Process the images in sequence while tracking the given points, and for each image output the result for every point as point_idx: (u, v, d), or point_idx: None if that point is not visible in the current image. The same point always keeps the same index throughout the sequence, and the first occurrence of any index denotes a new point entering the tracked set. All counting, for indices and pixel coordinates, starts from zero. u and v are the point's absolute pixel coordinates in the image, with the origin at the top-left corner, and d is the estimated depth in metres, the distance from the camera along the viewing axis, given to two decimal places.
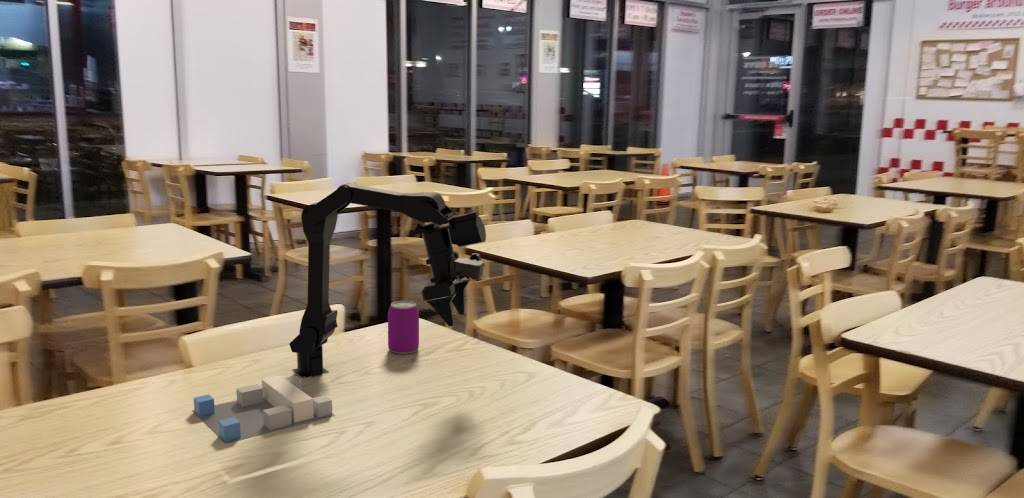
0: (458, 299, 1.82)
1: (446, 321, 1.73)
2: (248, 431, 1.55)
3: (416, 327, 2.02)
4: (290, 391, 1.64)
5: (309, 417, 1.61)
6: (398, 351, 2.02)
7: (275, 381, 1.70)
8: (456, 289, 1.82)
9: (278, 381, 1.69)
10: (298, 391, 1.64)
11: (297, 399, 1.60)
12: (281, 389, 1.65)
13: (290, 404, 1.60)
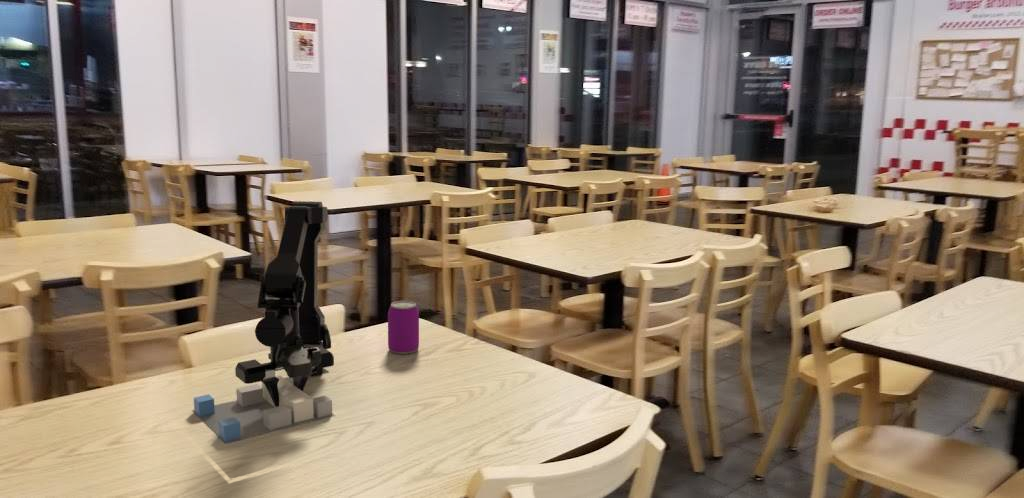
0: (297, 385, 1.67)
1: (272, 400, 1.65)
2: (248, 431, 1.55)
3: (416, 327, 2.02)
4: (290, 391, 1.64)
5: (309, 417, 1.61)
6: (398, 351, 2.02)
7: None
8: None
9: (278, 381, 1.69)
10: (298, 391, 1.64)
11: (297, 399, 1.60)
12: (281, 389, 1.65)
13: (290, 404, 1.60)
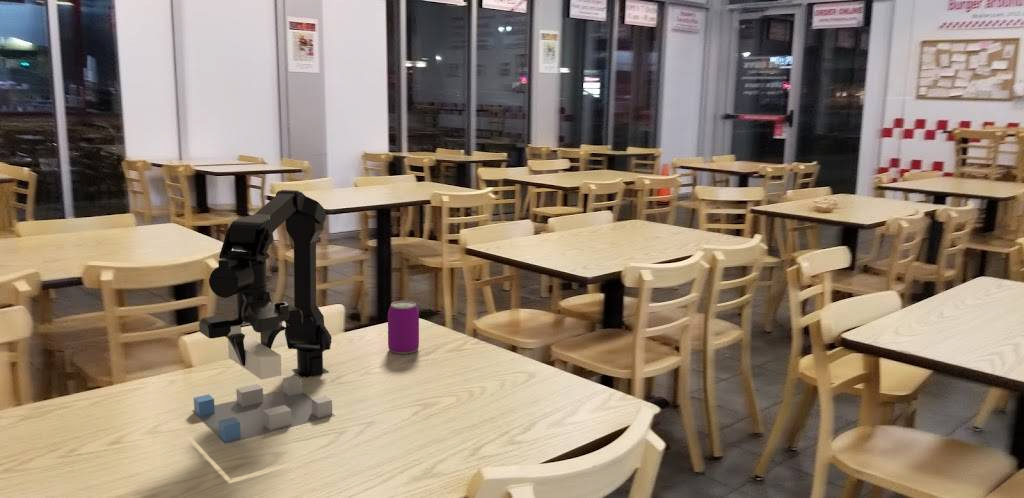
0: (264, 344, 1.61)
1: (238, 358, 1.59)
2: (248, 431, 1.55)
3: (416, 327, 2.02)
4: (257, 348, 1.58)
5: (277, 374, 1.55)
6: (398, 351, 2.02)
7: None
8: (265, 332, 1.61)
9: (245, 340, 1.63)
10: (265, 349, 1.58)
11: (264, 356, 1.54)
12: (247, 347, 1.59)
13: (257, 360, 1.53)
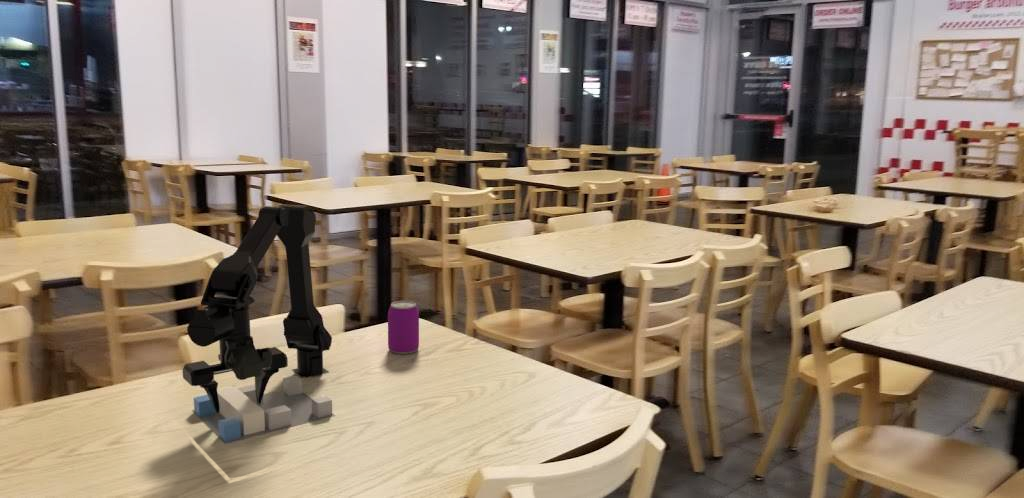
0: (258, 385, 1.62)
1: (213, 405, 1.57)
2: None
3: (416, 327, 2.02)
4: (242, 402, 1.58)
5: (260, 429, 1.55)
6: (398, 351, 2.02)
7: (227, 391, 1.64)
8: None
9: (230, 392, 1.63)
10: (250, 402, 1.58)
11: (247, 411, 1.54)
12: (232, 401, 1.59)
13: (240, 416, 1.54)
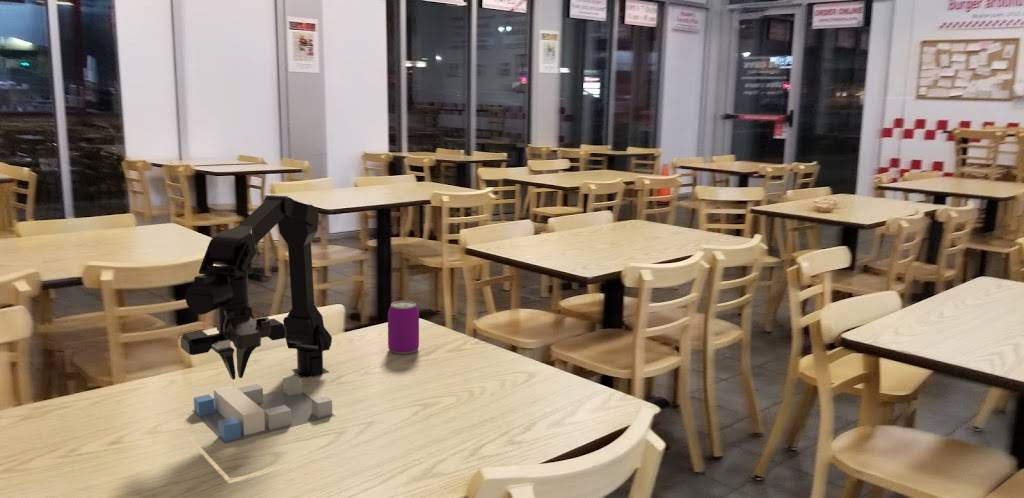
0: (240, 360, 1.59)
1: (229, 372, 1.58)
2: None
3: (416, 327, 2.02)
4: (242, 402, 1.58)
5: (260, 429, 1.55)
6: (398, 351, 2.02)
7: (227, 391, 1.64)
8: (240, 349, 1.58)
9: (230, 392, 1.63)
10: (250, 402, 1.58)
11: (247, 411, 1.54)
12: (232, 401, 1.59)
13: (240, 416, 1.54)
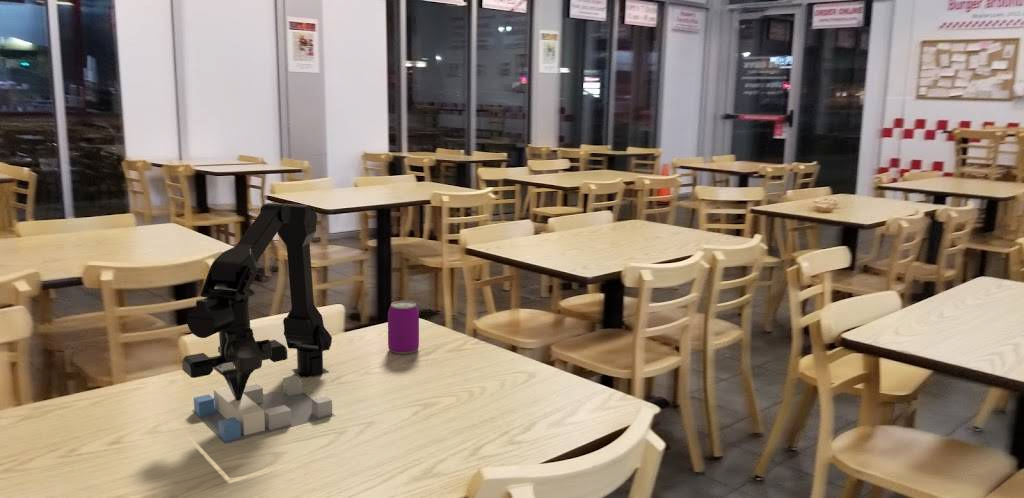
0: (238, 382, 1.59)
1: (232, 393, 1.59)
2: None
3: (416, 327, 2.02)
4: (242, 402, 1.58)
5: (260, 429, 1.55)
6: (398, 351, 2.02)
7: (227, 391, 1.64)
8: None
9: (230, 392, 1.63)
10: (250, 402, 1.58)
11: (247, 411, 1.54)
12: (232, 401, 1.59)
13: (240, 416, 1.54)
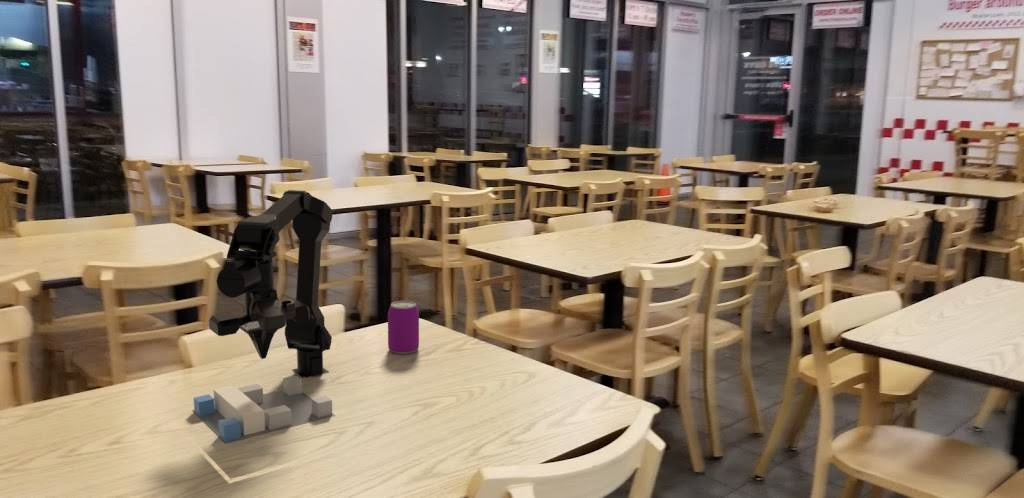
0: (263, 341, 1.64)
1: None
2: None
3: (416, 327, 2.02)
4: (242, 402, 1.58)
5: (260, 429, 1.55)
6: (398, 351, 2.02)
7: (227, 391, 1.64)
8: (264, 330, 1.64)
9: (230, 392, 1.63)
10: (250, 402, 1.58)
11: (247, 411, 1.54)
12: (232, 401, 1.59)
13: (240, 416, 1.54)
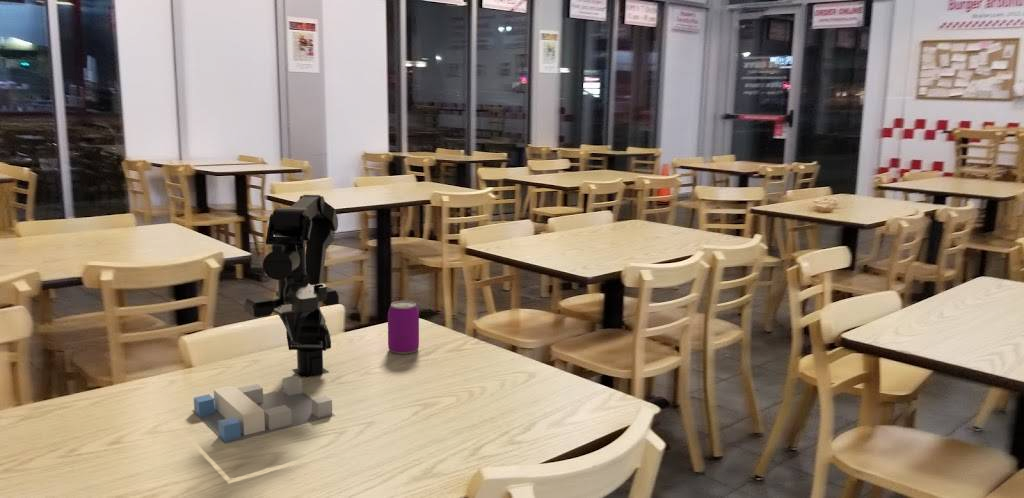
0: (294, 324, 1.72)
1: (289, 334, 1.72)
2: None
3: (416, 327, 2.02)
4: (242, 402, 1.58)
5: (260, 429, 1.55)
6: (398, 351, 2.02)
7: (227, 391, 1.64)
8: (295, 314, 1.72)
9: (230, 392, 1.63)
10: (250, 402, 1.58)
11: (247, 411, 1.54)
12: (232, 401, 1.59)
13: (240, 416, 1.54)
